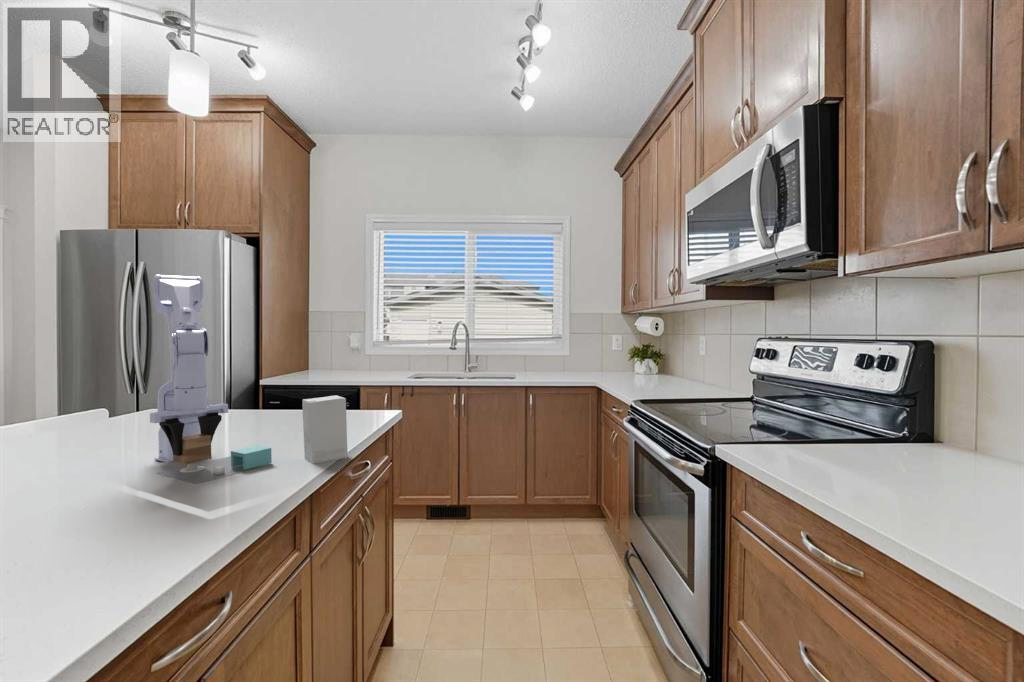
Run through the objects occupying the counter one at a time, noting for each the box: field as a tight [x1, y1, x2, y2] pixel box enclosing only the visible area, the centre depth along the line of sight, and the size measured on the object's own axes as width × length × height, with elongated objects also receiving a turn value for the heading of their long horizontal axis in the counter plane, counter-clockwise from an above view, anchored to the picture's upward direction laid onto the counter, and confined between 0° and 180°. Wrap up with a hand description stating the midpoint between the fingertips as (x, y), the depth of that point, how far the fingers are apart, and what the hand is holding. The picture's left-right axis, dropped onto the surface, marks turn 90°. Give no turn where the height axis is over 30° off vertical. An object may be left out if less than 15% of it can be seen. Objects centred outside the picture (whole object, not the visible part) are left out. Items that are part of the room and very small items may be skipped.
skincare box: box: [301, 395, 349, 465], centre depth 114 cm, size 8×6×15 cm
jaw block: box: [173, 433, 212, 465], centre depth 105 cm, size 5×5×5 cm
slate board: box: [156, 455, 274, 485], centre depth 106 cm, size 15×16×4 cm
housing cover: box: [230, 445, 273, 470], centre depth 108 cm, size 5×6×3 cm
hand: (192, 452), depth 105 cm, fingers closed on jaw block, 5 cm apart
